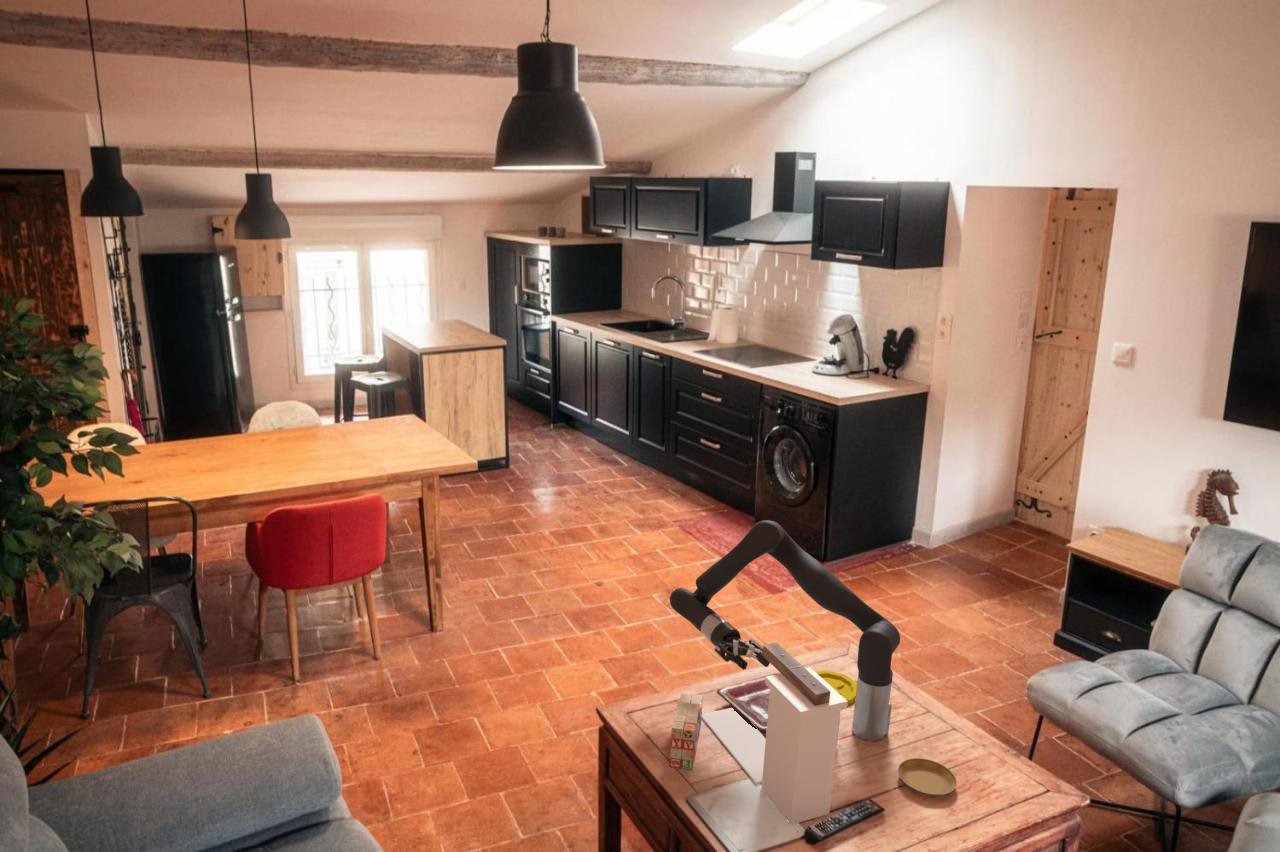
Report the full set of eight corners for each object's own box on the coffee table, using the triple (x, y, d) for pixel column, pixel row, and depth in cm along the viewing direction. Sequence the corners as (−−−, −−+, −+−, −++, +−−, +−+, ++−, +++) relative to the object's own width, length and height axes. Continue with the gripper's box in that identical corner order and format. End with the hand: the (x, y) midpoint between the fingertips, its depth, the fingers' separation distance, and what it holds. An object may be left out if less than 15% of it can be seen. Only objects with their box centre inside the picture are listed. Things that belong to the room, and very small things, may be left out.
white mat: (736, 708, 263) (736, 706, 263) (795, 774, 235) (795, 772, 235) (700, 716, 258) (700, 714, 258) (755, 784, 230) (756, 782, 230)
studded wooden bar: (776, 653, 232) (777, 642, 231) (829, 702, 210) (830, 690, 210) (762, 655, 230) (763, 644, 229) (814, 705, 209) (816, 694, 208)
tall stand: (799, 776, 234) (810, 667, 225) (834, 815, 220) (847, 701, 211) (756, 787, 229) (765, 676, 220) (789, 828, 215) (800, 711, 206)
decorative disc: (792, 679, 280) (792, 673, 280) (843, 674, 284) (844, 668, 284) (814, 709, 265) (815, 703, 264) (868, 703, 269) (869, 697, 268)
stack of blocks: (679, 721, 256) (681, 683, 253) (701, 724, 255) (703, 686, 252) (669, 767, 236) (671, 727, 232) (692, 771, 235) (695, 730, 231)
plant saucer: (885, 773, 237) (886, 764, 236) (929, 761, 243) (930, 752, 242) (922, 808, 224) (923, 800, 223) (968, 795, 230) (969, 786, 229)
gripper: (705, 622, 247) (742, 655, 235) (742, 619, 256) (780, 651, 244) (697, 646, 249) (733, 679, 237) (734, 642, 258) (771, 675, 246)
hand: (757, 665), depth 240 cm, fingers open, 8 cm apart
